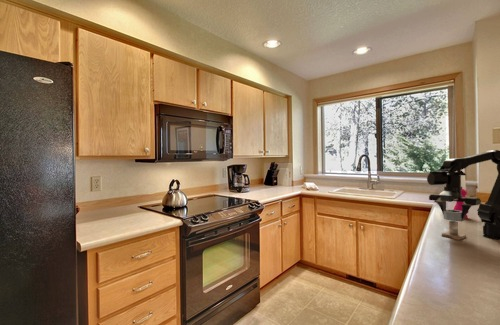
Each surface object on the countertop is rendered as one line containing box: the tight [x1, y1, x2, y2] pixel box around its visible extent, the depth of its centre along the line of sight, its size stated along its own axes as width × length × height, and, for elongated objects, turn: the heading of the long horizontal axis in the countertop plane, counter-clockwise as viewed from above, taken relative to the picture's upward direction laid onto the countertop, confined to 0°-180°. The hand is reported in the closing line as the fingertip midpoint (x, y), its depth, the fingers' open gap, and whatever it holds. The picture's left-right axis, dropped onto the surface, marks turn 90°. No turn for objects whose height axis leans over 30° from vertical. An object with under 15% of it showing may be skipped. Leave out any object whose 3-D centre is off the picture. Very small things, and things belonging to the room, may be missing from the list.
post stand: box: [441, 220, 467, 241], centre depth 117 cm, size 7×7×7 cm
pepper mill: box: [453, 185, 470, 220], centre depth 154 cm, size 7×7×20 cm
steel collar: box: [443, 209, 465, 222], centre depth 117 cm, size 7×7×4 cm
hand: (453, 216), depth 117 cm, fingers closed on steel collar, 7 cm apart
